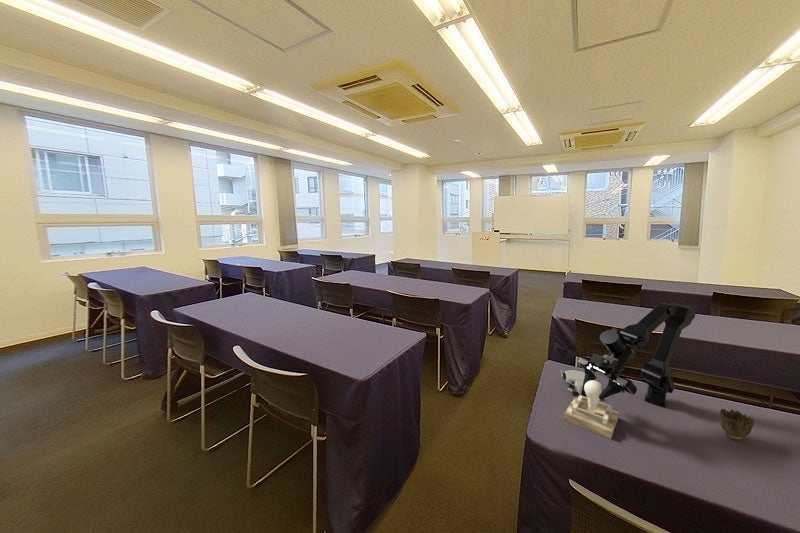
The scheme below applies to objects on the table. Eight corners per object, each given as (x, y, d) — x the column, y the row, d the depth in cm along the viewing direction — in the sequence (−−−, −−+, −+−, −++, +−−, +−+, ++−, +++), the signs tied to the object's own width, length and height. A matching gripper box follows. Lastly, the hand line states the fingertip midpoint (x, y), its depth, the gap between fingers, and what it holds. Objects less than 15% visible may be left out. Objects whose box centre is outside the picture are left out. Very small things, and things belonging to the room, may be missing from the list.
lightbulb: (586, 402, 112) (588, 375, 110) (605, 410, 107) (608, 382, 105) (579, 409, 108) (582, 380, 106) (598, 417, 104) (601, 388, 102)
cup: (739, 432, 101) (743, 411, 100) (756, 448, 94) (761, 425, 93) (711, 427, 104) (714, 406, 102) (725, 442, 97) (729, 420, 95)
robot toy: (600, 402, 120) (590, 380, 134) (602, 392, 119) (591, 371, 133) (566, 396, 124) (559, 376, 138) (567, 387, 123) (560, 367, 137)
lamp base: (574, 402, 118) (575, 390, 117) (618, 418, 109) (619, 405, 108) (563, 420, 108) (565, 407, 107) (610, 439, 98) (612, 425, 98)
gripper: (582, 336, 114) (558, 369, 112) (634, 357, 96) (606, 396, 95) (596, 353, 118) (572, 384, 116) (648, 376, 100) (621, 413, 99)
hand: (591, 393), depth 106 cm, fingers open, 6 cm apart
